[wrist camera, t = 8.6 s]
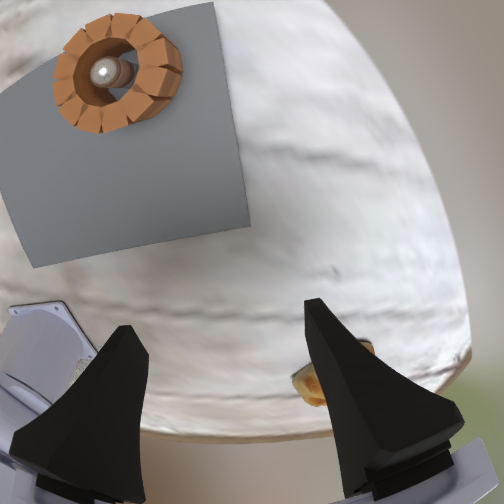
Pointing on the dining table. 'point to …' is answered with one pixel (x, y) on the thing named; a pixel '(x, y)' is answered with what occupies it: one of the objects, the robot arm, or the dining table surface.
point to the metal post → (113, 73)
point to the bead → (115, 44)
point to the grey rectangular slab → (125, 159)
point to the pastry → (314, 383)
